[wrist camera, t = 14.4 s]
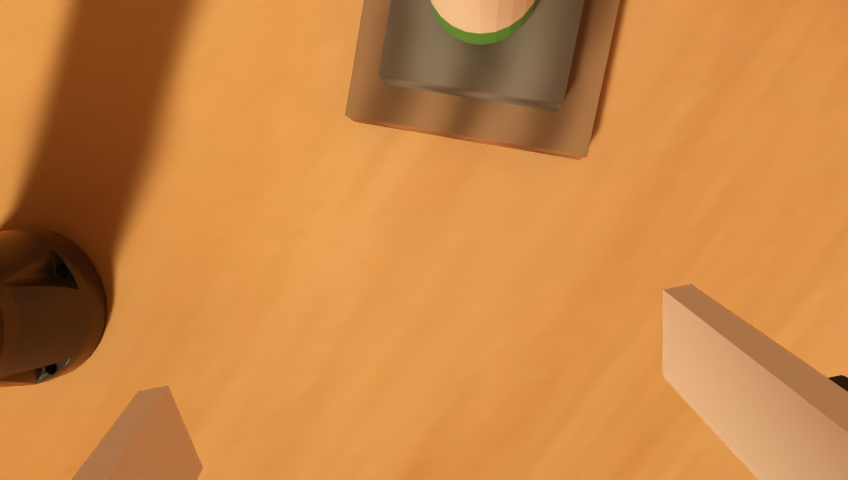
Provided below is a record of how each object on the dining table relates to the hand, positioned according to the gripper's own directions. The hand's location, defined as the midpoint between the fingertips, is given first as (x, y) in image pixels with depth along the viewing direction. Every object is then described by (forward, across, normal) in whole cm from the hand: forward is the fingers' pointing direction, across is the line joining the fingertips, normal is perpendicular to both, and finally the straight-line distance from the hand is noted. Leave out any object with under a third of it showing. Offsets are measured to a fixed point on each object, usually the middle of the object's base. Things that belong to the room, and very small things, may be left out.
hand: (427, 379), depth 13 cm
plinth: (+34, +10, +10) cm, 36 cm away
